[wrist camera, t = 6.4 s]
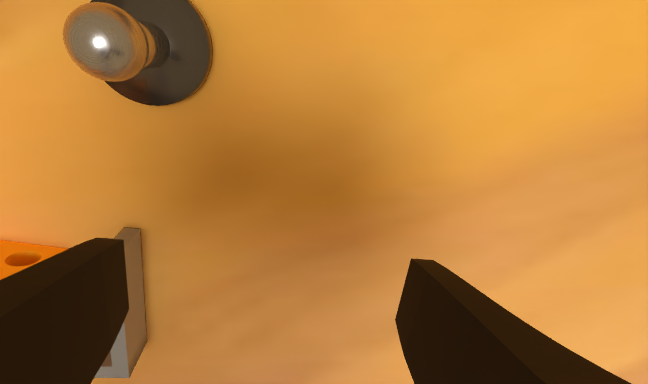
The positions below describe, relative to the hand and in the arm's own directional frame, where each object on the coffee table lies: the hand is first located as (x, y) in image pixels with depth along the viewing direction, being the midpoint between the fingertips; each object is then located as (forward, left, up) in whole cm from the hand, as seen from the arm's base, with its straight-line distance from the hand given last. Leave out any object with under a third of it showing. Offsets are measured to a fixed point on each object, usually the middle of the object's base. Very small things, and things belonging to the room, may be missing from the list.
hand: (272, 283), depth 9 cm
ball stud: (+5, +6, -10) cm, 13 cm away
